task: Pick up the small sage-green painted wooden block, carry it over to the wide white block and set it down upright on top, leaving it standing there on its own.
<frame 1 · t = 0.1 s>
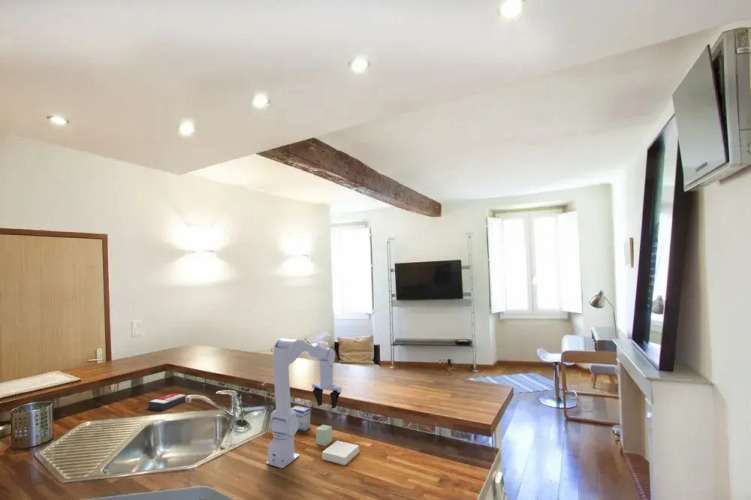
hand: (326, 406, 161), 10 cm above the counter, tool pointing down, fingers open, 7 cm apart
white block: (340, 456, 138), on the counter
sage block: (324, 442, 149), on the counter
medicine box: (300, 428, 163), on the counter
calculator: (168, 405, 198), on the counter
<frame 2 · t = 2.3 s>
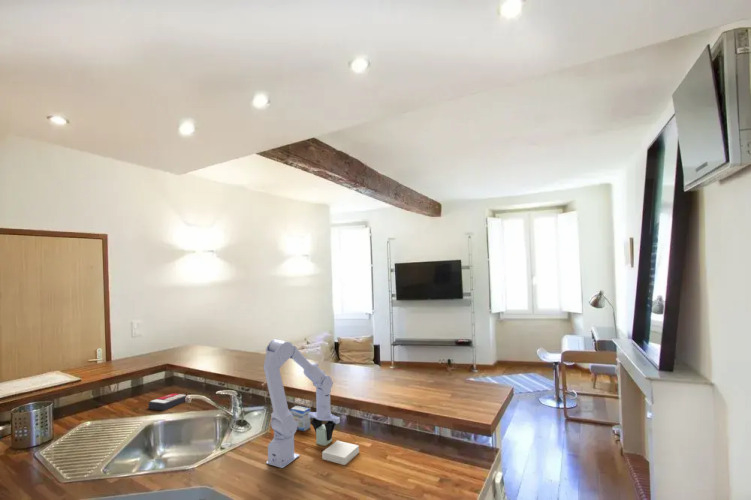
hand: (324, 438, 149), 2 cm above the counter, tool pointing down, fingers closed on sage block, 4 cm apart
sage block: (324, 442, 149), on the counter, touching gripper
everything else where it was.
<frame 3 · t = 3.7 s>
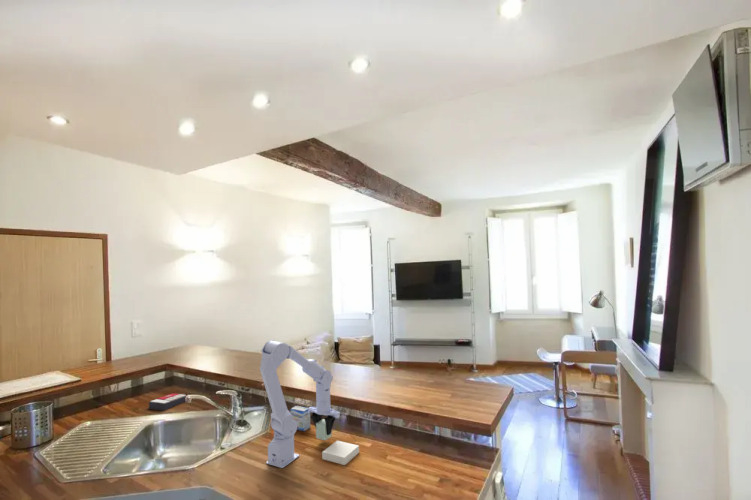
hand: (323, 432, 149), 4 cm above the counter, tool pointing down, fingers closed on sage block, 4 cm apart
sage block: (324, 437, 149), point 2 cm above the counter, touching gripper
everything else where it was.
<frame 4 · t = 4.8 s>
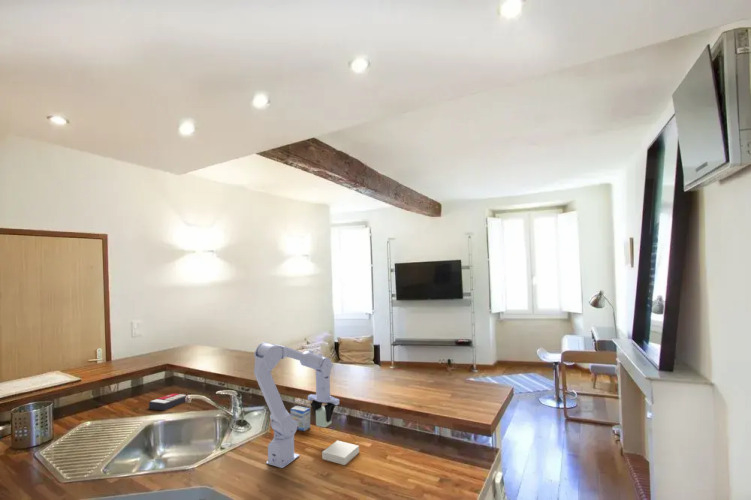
hand: (323, 420, 149), 9 cm above the counter, tool pointing down, fingers closed on sage block, 4 cm apart
sage block: (323, 424, 149), point 7 cm above the counter, touching gripper
everything else where it was.
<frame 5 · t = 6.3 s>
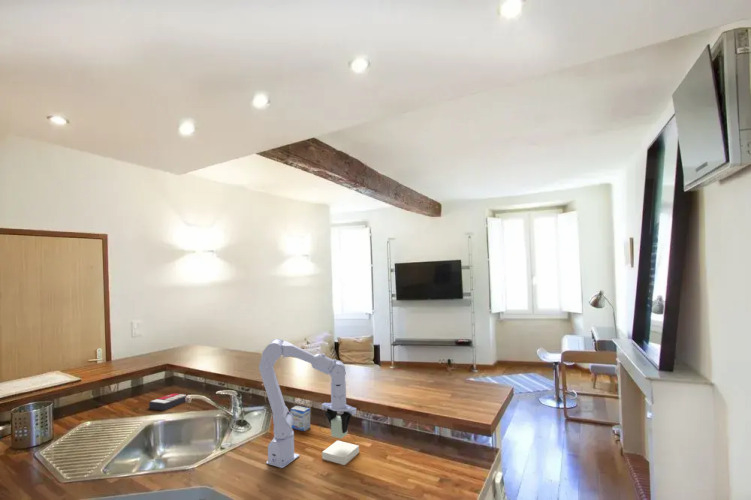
hand: (339, 430, 139), 9 cm above the counter, tool pointing down, fingers closed on sage block, 4 cm apart
sage block: (339, 434, 139), point 7 cm above the counter, touching gripper
everything else where it was.
when the fingers open (6 cm above the counter, at t = 7.7 s): sage block drops 2 cm, resting on white block.
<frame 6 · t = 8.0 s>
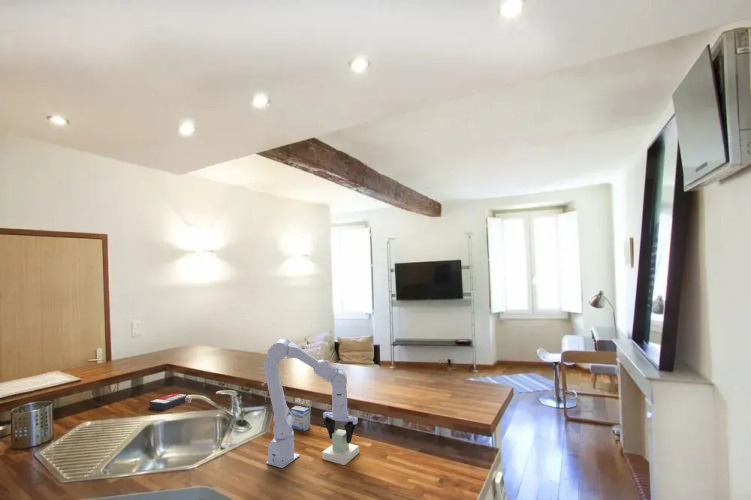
hand: (340, 440, 138), 6 cm above the counter, tool pointing down, fingers open, 7 cm apart
white block: (340, 457, 138), on the counter, touching sage block
sage block: (340, 448, 138), point 2 cm above the counter, touching white block
everything else where it was.
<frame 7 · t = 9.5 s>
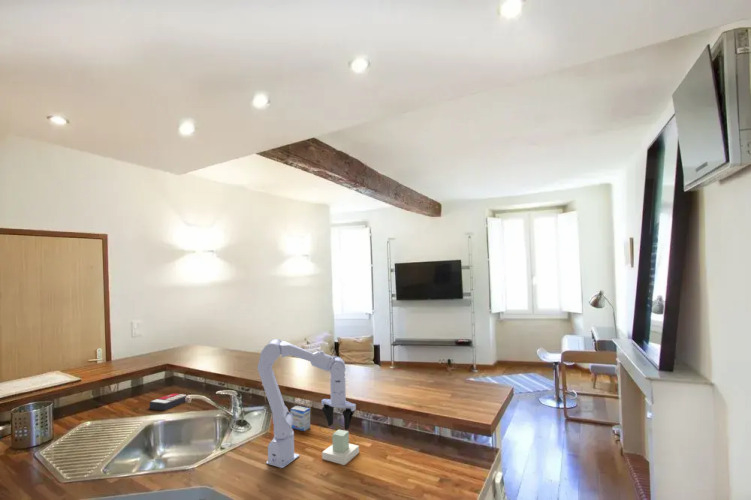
hand: (338, 426, 139), 10 cm above the counter, tool pointing down, fingers open, 7 cm apart
nothing on the counter moved.
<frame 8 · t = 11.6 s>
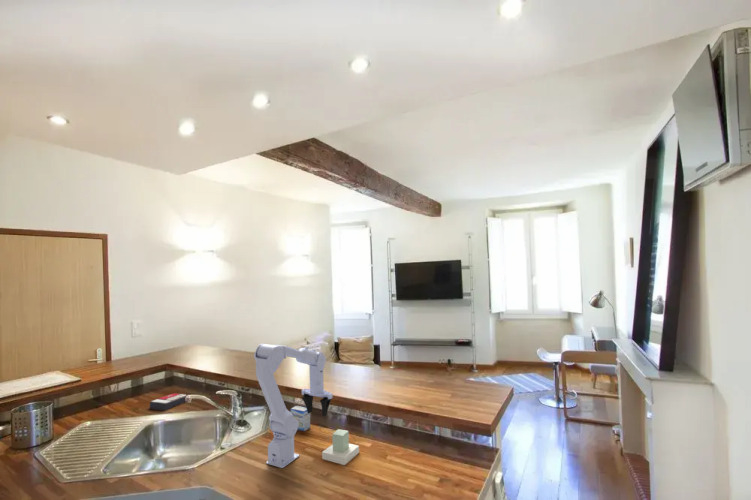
hand: (317, 414, 152), 10 cm above the counter, tool pointing down, fingers open, 7 cm apart
nothing on the counter moved.
at the end: sage block inside the target area on the white block (0.1 cm from its centre), point 3.2 cm above the white block's base; sage block tilted 3°; the gripper is holding nothing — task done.
